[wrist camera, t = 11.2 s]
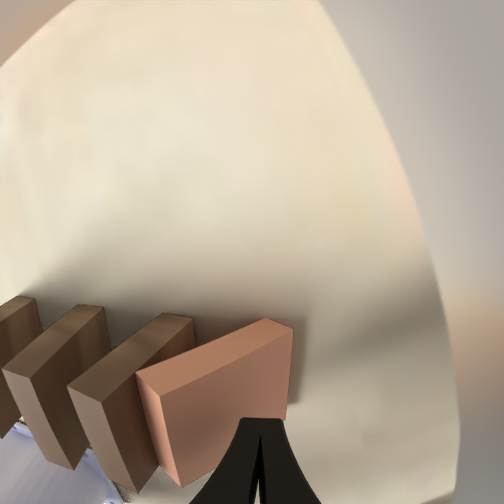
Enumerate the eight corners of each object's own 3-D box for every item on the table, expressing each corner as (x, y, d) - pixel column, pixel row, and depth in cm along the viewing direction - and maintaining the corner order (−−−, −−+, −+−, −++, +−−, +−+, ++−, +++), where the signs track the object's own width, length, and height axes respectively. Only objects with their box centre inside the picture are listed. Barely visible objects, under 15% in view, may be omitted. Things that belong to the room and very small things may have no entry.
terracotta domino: (261, 405, 15) (159, 465, 10) (264, 317, 13) (135, 372, 9) (285, 419, 14) (181, 488, 9) (293, 329, 12) (159, 396, 8)
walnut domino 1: (38, 371, 15) (-16, 429, 9) (16, 295, 14) (-57, 344, 8) (56, 376, 15) (2, 439, 9) (34, 298, 14) (-41, 351, 8)
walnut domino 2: (97, 386, 15) (46, 460, 9) (77, 304, 14) (1, 368, 8) (121, 390, 15) (74, 470, 9) (103, 307, 14) (29, 378, 8)
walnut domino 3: (174, 399, 15) (107, 478, 9) (162, 312, 14) (66, 385, 8) (201, 406, 14) (137, 493, 9) (192, 318, 13) (101, 402, 8)
